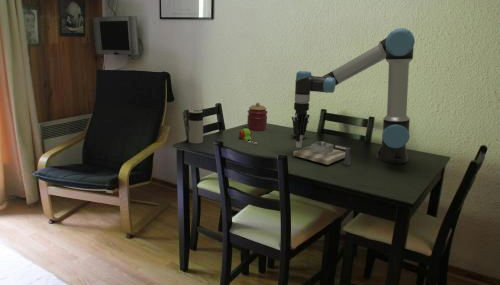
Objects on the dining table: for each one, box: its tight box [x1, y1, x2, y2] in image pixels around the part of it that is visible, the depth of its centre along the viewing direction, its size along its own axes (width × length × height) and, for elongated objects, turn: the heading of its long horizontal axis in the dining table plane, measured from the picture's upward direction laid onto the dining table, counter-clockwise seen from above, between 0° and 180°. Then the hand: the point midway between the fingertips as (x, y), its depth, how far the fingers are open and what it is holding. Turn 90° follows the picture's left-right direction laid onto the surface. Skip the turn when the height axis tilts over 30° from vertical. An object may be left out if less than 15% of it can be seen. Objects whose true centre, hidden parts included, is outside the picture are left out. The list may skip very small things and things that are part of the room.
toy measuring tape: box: [238, 127, 258, 145], centre depth 227 cm, size 6×19×7 cm, turn 27°
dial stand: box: [335, 145, 352, 167], centre depth 191 cm, size 8×2×8 cm, turn 48°
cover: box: [310, 140, 334, 155], centre depth 199 cm, size 8×8×5 cm
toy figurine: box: [291, 120, 310, 140], centre depth 237 cm, size 11×11×12 cm
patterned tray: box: [292, 142, 345, 165], centre depth 200 cm, size 24×20×4 cm
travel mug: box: [188, 109, 204, 144], centre depth 218 cm, size 8×8×18 cm
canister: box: [246, 102, 268, 132], centre depth 254 cm, size 13×13×18 cm
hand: (298, 147), depth 204 cm, fingers closed
